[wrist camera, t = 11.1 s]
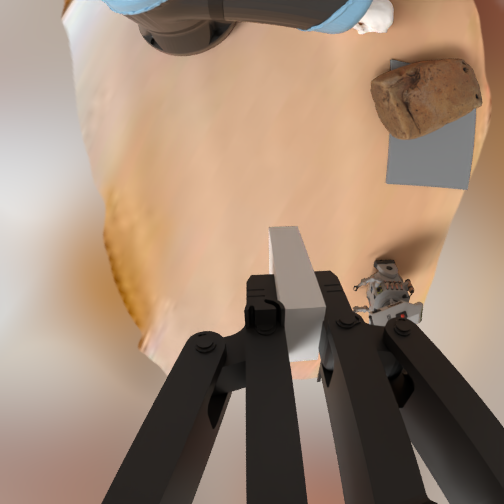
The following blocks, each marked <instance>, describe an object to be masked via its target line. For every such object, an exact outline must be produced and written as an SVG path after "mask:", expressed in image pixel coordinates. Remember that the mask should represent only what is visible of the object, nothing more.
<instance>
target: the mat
mask: <svg viewBox="0 0 504 504" xmlns="http://www.w3.org/2000/svg"><path fill="white" fill-rule="evenodd" d="M406 65H409V63H405V62H400V61H396V60H390V70H391V71H392V70H394V69H397V68H400V67H403V66H406ZM475 121H476V108H475V109H473V110H472V111H471V112H470V113H468V114H467V115H465V116H463V117H461V118H459V119H457V120H456V121H453V122H451V123H448V124H446V125H444V126H443V127H442V128H440V129H438V130H436V131H434V132H431V133H429V134H427V135H425V136H422V137H419V138H415V139H411V140H401V139H397V138H395V137H393V136H392V135H391V134H389V150H388V163H387V174H386V183H387V184H400V185H416V186H430V187H442V188H453V189H463V190H467V189H468V184H469V178H470V171H471V164H472V156H473V146H474V136H475Z"/></svg>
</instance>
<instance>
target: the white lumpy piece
mask: <svg viewBox="0 0 504 504" xmlns="http://www.w3.org/2000/svg"><path fill="white" fill-rule="evenodd" d="M393 12H394V8H393V5H392V3H391V2H390V1H389V0H373V2H372V4H371V6H370V7H369V9H368V11H367V12H366V14H365V15H364V16H363V17H362V19H361V20H360V21H359V22H360V23H364V24H362V25H361V26H360V25H359V22H358V23H357V24H356V25H355V26H354V27H352V28H354V29H356V30H358V33H359V34H364V33H367V32H377V33H387V30H388V28H389V27H390V26H391V25H392V23H393Z"/></svg>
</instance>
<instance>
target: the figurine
mask: <svg viewBox="0 0 504 504" xmlns="http://www.w3.org/2000/svg"><path fill="white" fill-rule="evenodd" d="M374 267H375V268H376V269H378V270H379V271H378V272H377V273H375V274H374V275H371V276H370V277H368V278H366V279H365V278H364V279H362V280H361V283H360V284H358V286H354V288H355V287H356V290H355V291H357V289H358V288H359V287H360V286H361V285H366V284H367V283H368V282H369V283H368V288H367V298H368V301H369V305H370V306H369V308H368V307H367V306H364V307H358V306H355V307H353V309H354V310H353V312H359V311H361V312H362V311H363V312H366V311H368V312H369V324H371V325H378V326H385V325H386V323H387V321H388V320H390V319H391V318H395V317H403V318H407V319H409V320H411V321H412V322H414V323H415V324H418V323H420V322H421V320H422V319H421V318H422V310H423V304H422V303H421V302H417V303H415V304H411V303H408V302H409V299H410V296H411V295H412V294H411V295H410V296H409V294H408V292H407V291H408V290H409V292H410V293H414V288H413V286H412V284H411V281H410V280H409V279H407V280H406V281H405V282H404V283H403V280H402V278H401V277H400V276H399V274H398V269H397V266H396V265H395V262H394V260H385V261H382V260H380V261H378V260H376V261H375V262H374ZM353 290H354V289H353Z"/></svg>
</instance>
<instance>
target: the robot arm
mask: <svg viewBox="0 0 504 504" xmlns="http://www.w3.org/2000/svg"><path fill="white" fill-rule="evenodd" d="M102 1H103V2H104V3H106V4H107V6H109V7H110V9H111V10H112V11H114V12H116V13H119V14H122V15H124V16H126V17H127V18H129V19H131V20H133V21H134V22H136V23H138V26H139V30H140V32H141V34H142V36H143V38H144V39H145V40H146V41H147V42H148V43H149V44H150V45H151V46H152V47H154V48H155V49H157V50H159V51H161V52H163V53H166V54H169V55H175V56H190V55H195V54H199V53H202V52H205V51H207V50H209V49H211V48H213V47H215V46H216V45H218V44H219V43H220V42H222V41H223V40H224V39H225V38H226V37H227V36H228V35H229V33H230V32H231V31H232V29H233V27H234V25H235V23H236V21H241V22H253V23H262V24H271V25H278V26H285V27H292V28H297V29H298V30H301V31H317V32H322V33H328V34H339V33H343V32H346V31H348V30H349V29H351V28H352V27H354V26H355V25H356V24H357V23H358V22H359V21H360V20H361V19H362V17H363V16H364V15H365V14H366V12H367V11H368V9H369V7H370V6H371V4H372V2H373V0H102ZM244 313H245V326H244V328H243V329H242V330H241V331H239V332H238V333H236V334H234V335H231V336H227V337H224V338H223V337H222V336H221V335H220V334H218V333H215V332H212V331H203V332H199V333H196V334H194V335H193V336H191V337H190V338H189V339H188V340H187V342H186V344H185V346H184V347H183V349H182V351H181V353H180V355H179V357H178V358H177V360H176V362H175V364H174V366H173V368H172V370H171V371H170V373H169V375H168V377H167V379H166V381H165V383H164V385H163V387H162V388H161V390H160V392H159V394H158V396H157V398H156V400H155V401H154V403H153V406H152V407H151V409H150V411H149V413H148V415H147V417H146V419H145V420H144V422H143V424H142V426H141V428H140V430H139V432H138V434H137V436H136V438H135V440H134V441H133V443H132V445H131V447H130V449H129V451H128V453H127V455H126V457H125V459H124V461H123V463H122V464H121V466H120V468H119V470H118V472H117V474H116V477H115V478H114V480H113V482H112V484H111V486H110V488H109V490H108V492H107V494H106V496H105V498H104V500H103V502H102V504H192V502H193V499H194V496H195V494H196V491H197V488H198V486H199V483H200V480H201V478H202V475H203V472H204V470H205V467H206V464H207V461H208V459H209V456H210V453H211V450H212V448H213V445H214V442H215V439H216V437H217V434H218V431H219V428H220V425H221V422H222V419H223V417H224V414H225V411H226V408H227V405H228V402H229V399H230V397H231V394H232V391H235V390H238V389H241V388H245V387H246V493H247V504H308V503H307V493H306V485H305V476H304V467H303V460H302V451H301V444H300V435H299V427H298V419H297V412H296V404H295V397H294V389H293V382H292V375H291V368H290V362H295V361H308V360H317V359H318V353H320V357H321V363H320V368H319V373H318V378H317V382H320V379H321V378H322V383H323V388H324V392H325V397H326V402H327V407H328V412H329V417H330V422H331V427H332V432H333V437H334V443H335V448H336V454H337V459H338V465H339V470H340V476H341V482H342V488H343V494H344V500H345V504H437V503H436V502H433V501H431V500H430V499H429V498H428V497H427V495H426V492H425V488H424V484H423V481H422V477H421V474H420V470H419V467H418V464H417V460H416V457H415V454H414V451H413V448H412V445H411V442H412V444H413V445H414V447H415V448H416V450H417V452H418V453H419V455H420V456H421V458H422V460H423V461H424V463H425V464H426V466H427V467H428V469H429V471H430V472H431V474H432V476H433V477H434V479H435V480H436V482H437V484H438V485H439V487H440V488H441V490H442V492H443V493H444V495H445V497H446V498H447V500H448V502H449V503H450V504H504V428H503V426H502V425H501V424H500V422H499V421H498V420H497V418H496V417H495V416H494V414H493V413H492V412H491V411H490V409H489V408H488V407H487V406H486V404H485V403H484V402H483V401H482V399H481V398H480V397H479V396H478V394H477V393H476V392H475V391H474V390H473V388H472V387H471V386H470V385H469V383H468V382H467V381H466V380H465V379H464V378H463V376H462V375H461V374H460V373H459V372H458V371H457V369H456V368H455V367H454V366H453V365H452V364H451V363H450V361H449V360H448V359H447V358H446V357H445V356H444V355H443V354H442V352H441V351H440V350H439V349H438V348H437V347H436V346H435V345H434V343H433V342H432V341H431V340H430V339H429V338H428V337H427V336H426V335H425V334H424V332H423V331H421V329H420V328H419V327H418V326H417V325H416V324H415V323H414V322H412V321H411V320H409V319H407V318H403V317H395V318H391V319H390V320H388V321H387V323H386V325H385V326H378V325H371V324H367V323H365V322H364V320H363V319H362V317H361V316H360V315H358V314H357V313H355V312H353V311H352V309H351V306H350V304H349V302H348V299H347V297H346V295H345V293H344V291H343V288H342V286H341V284H340V281H339V279H338V277H337V276H336V275H335V274H333V273H332V272H331V271H315V272H314V270H313V267H312V265H311V262H310V259H309V256H308V253H307V251H306V248H305V245H304V242H303V240H302V237H301V234H300V232H299V229H298V226H285V227H269V274H267V275H251V276H250V278H249V279H248V281H247V304H246V307H245V310H244Z"/></svg>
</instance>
